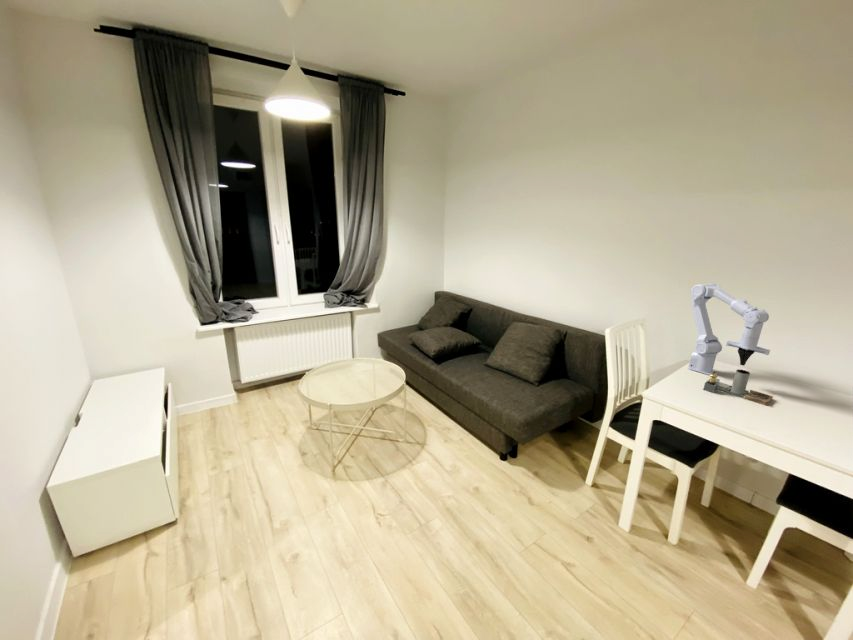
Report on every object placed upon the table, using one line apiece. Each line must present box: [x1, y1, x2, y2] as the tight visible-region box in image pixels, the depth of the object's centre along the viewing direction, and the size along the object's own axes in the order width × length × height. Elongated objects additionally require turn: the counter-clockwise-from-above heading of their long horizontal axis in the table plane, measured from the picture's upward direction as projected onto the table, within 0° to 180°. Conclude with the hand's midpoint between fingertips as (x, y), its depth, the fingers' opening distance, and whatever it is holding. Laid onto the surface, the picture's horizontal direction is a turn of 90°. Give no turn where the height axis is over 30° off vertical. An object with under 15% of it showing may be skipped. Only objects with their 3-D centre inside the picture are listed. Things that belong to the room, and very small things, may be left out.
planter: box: [730, 369, 751, 396], centre depth 155 cm, size 4×4×10 cm
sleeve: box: [716, 381, 750, 399], centre depth 159 cm, size 14×8×1 cm, turn 37°
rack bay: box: [743, 389, 774, 407], centre depth 151 cm, size 7×8×2 cm
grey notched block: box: [708, 378, 731, 391], centre depth 161 cm, size 7×4×3 cm, turn 37°
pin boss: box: [703, 380, 718, 394], centre depth 158 cm, size 4×5×4 cm
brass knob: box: [708, 373, 718, 385], centre depth 157 cm, size 3×3×5 cm
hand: (742, 364), depth 160 cm, fingers closed
